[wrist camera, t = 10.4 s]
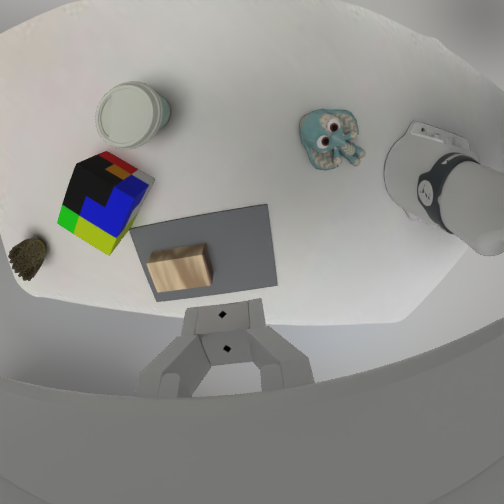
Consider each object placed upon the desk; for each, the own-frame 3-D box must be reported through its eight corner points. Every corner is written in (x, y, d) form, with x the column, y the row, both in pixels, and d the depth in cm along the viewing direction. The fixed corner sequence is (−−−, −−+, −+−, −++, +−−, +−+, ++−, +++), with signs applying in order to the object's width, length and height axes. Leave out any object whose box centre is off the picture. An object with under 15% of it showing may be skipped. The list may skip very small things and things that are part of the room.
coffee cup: (148, 77, 33) (117, 67, 23) (190, 105, 36) (173, 103, 26) (117, 122, 36) (79, 129, 26) (158, 150, 39) (130, 165, 29)
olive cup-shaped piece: (40, 223, 43) (18, 241, 36) (59, 252, 46) (39, 273, 39) (24, 238, 44) (3, 256, 37) (42, 265, 47) (23, 285, 40)
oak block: (203, 254, 43) (146, 263, 44) (212, 285, 46) (157, 292, 46) (206, 243, 47) (152, 251, 47) (213, 272, 50) (162, 279, 50)
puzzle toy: (155, 179, 41) (134, 198, 33) (130, 227, 45) (109, 255, 36) (106, 150, 38) (76, 163, 29) (86, 200, 42) (57, 223, 33)
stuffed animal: (357, 196, 39) (295, 158, 34) (335, 179, 45) (278, 146, 39) (393, 139, 35) (336, 91, 29) (367, 129, 40) (313, 88, 35)
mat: (266, 204, 44) (267, 204, 44) (277, 284, 52) (277, 285, 52) (129, 228, 45) (129, 229, 45) (157, 300, 53) (156, 301, 52)
